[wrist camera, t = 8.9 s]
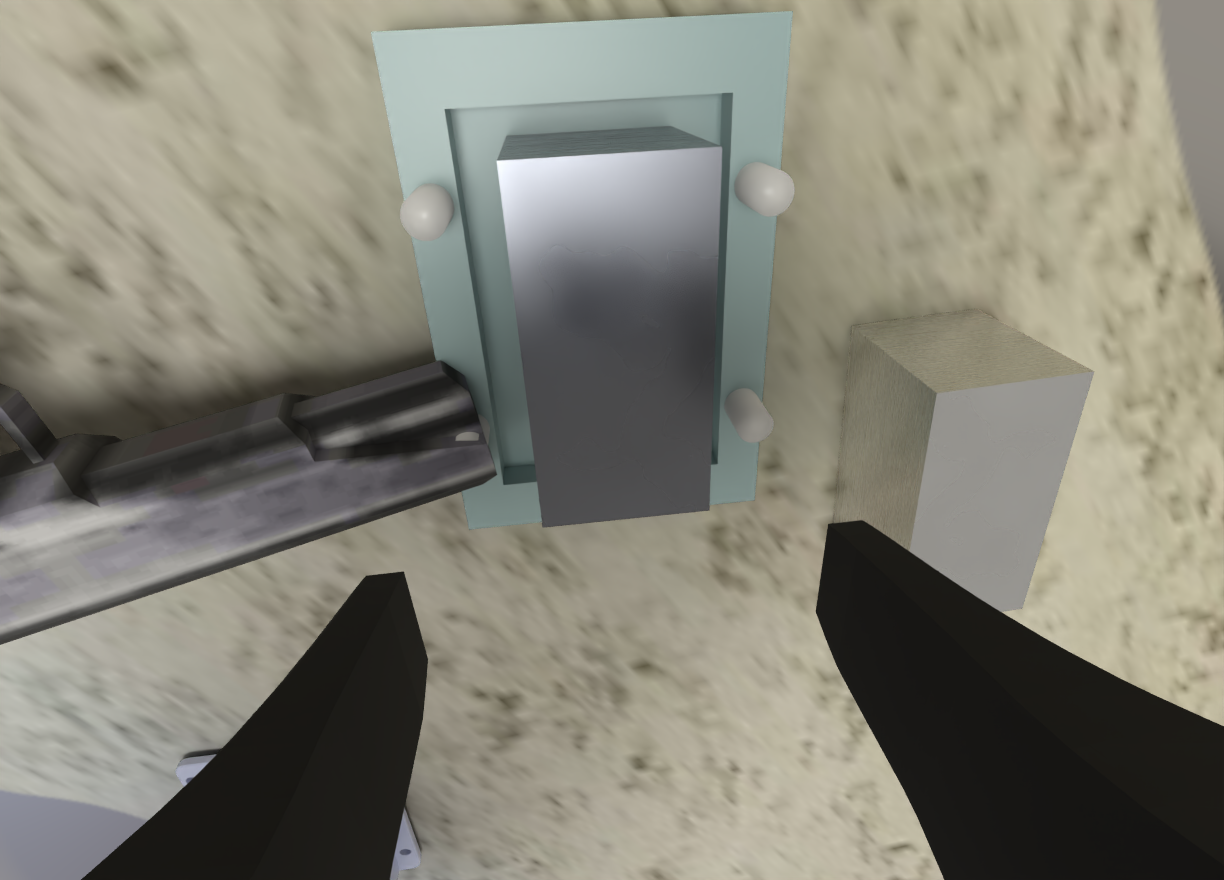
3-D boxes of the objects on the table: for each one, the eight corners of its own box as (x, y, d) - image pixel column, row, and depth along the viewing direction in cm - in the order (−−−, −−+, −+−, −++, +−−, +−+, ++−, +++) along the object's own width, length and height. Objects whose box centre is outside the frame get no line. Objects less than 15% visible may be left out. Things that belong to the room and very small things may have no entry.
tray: (738, 470, 22) (768, 527, 19) (473, 496, 21) (465, 559, 19) (766, 17, 16) (816, 5, 13) (387, 35, 15) (354, 27, 12)
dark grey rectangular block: (506, 135, 16) (496, 161, 11) (670, 125, 16) (722, 146, 12) (540, 426, 20) (542, 527, 15) (670, 414, 20) (709, 510, 16)
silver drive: (935, 512, 24) (1022, 608, 20) (831, 527, 24) (896, 627, 20) (974, 307, 20) (1094, 371, 16) (849, 323, 20) (936, 393, 16)
